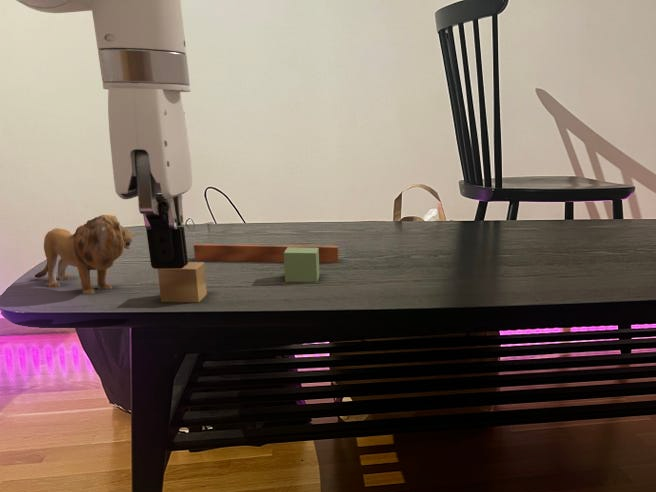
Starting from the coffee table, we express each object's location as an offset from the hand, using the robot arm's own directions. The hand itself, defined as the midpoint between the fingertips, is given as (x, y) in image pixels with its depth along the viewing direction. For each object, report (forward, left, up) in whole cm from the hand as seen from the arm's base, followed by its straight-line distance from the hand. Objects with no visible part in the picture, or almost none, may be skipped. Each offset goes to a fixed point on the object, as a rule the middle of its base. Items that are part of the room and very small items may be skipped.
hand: (170, 266), depth 72 cm
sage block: (+11, +17, -5) cm, 21 cm away
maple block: (-1, +6, -5) cm, 8 cm away
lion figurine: (-13, +12, -5) cm, 18 cm away
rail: (+5, +29, -5) cm, 30 cm away
